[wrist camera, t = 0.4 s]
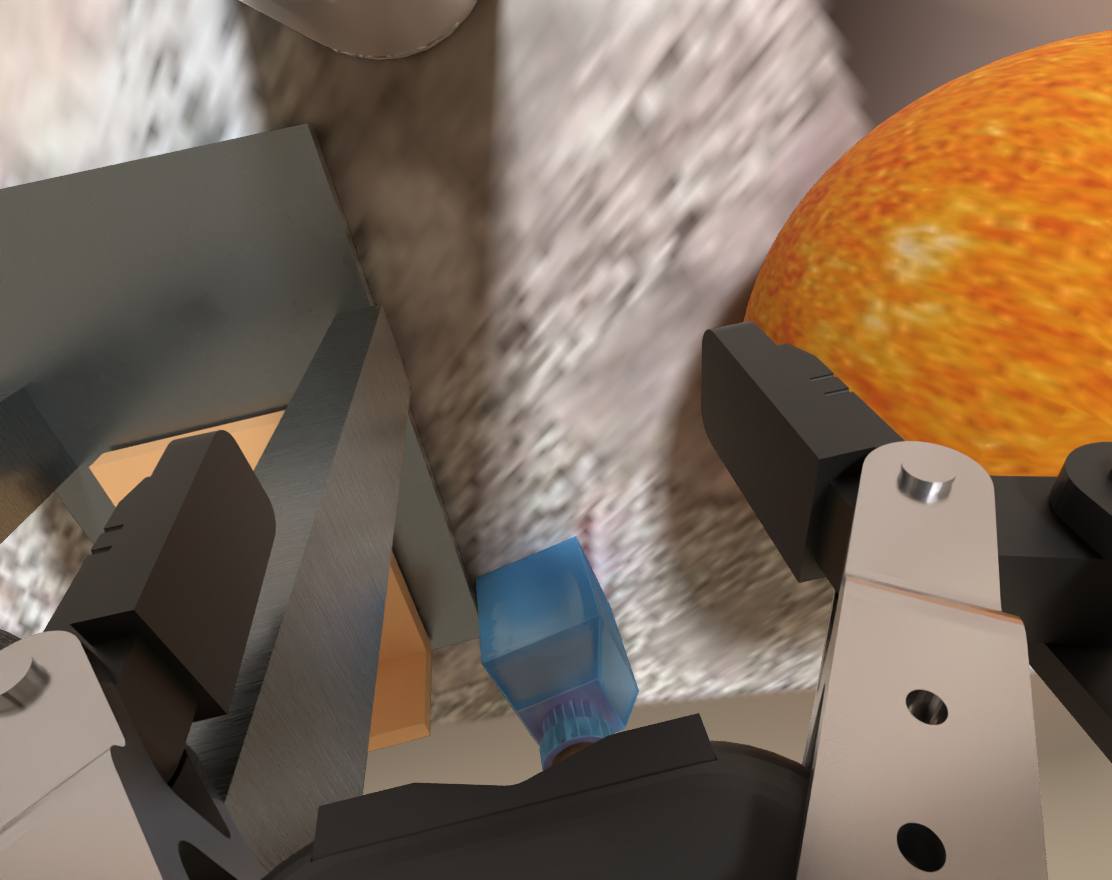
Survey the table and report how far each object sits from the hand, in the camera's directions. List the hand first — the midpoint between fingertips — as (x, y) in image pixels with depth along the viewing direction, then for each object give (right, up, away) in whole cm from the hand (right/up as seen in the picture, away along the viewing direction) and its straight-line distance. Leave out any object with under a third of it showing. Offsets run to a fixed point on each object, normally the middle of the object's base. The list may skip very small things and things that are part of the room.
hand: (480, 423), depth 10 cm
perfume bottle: (+1, -9, +26) cm, 28 cm away
